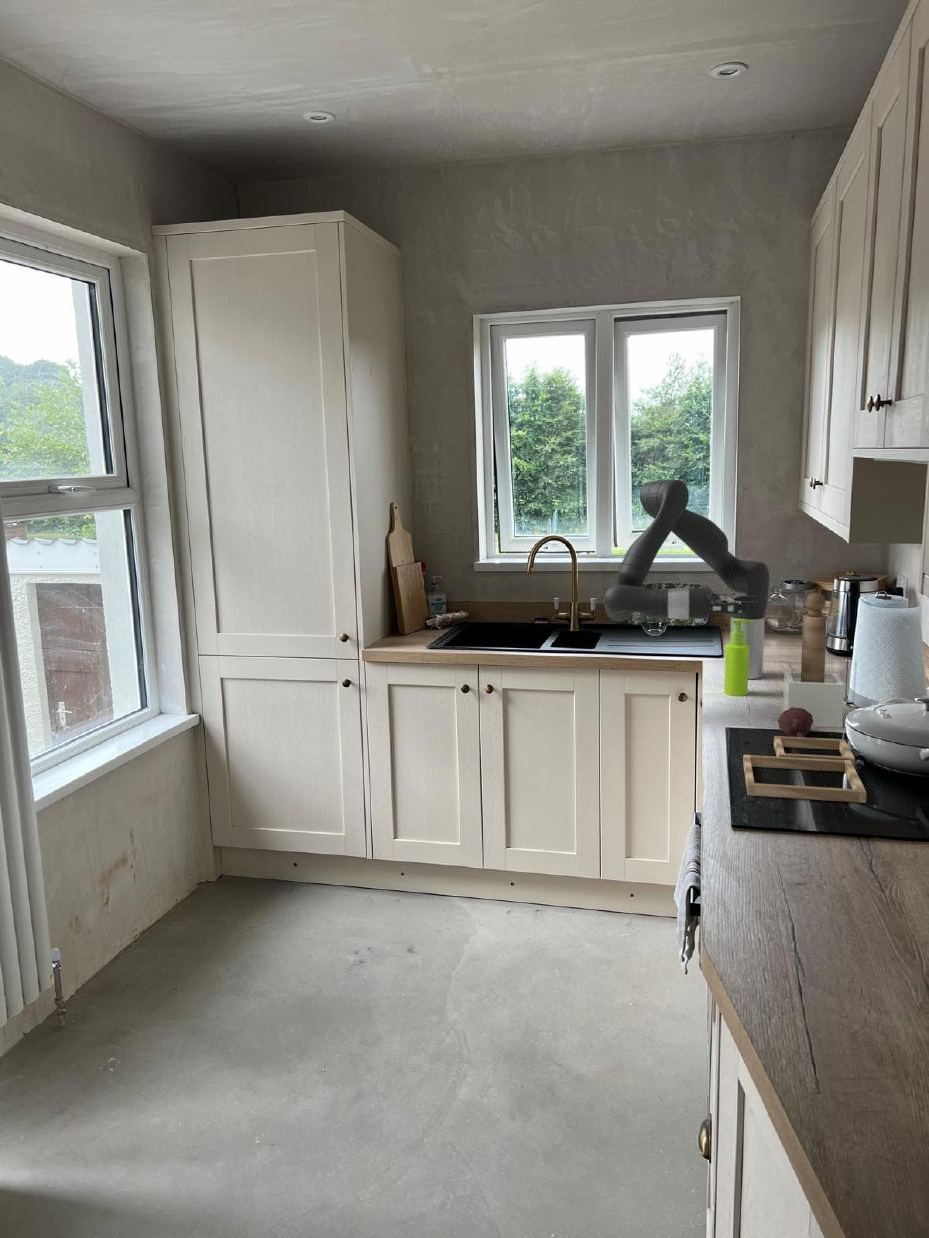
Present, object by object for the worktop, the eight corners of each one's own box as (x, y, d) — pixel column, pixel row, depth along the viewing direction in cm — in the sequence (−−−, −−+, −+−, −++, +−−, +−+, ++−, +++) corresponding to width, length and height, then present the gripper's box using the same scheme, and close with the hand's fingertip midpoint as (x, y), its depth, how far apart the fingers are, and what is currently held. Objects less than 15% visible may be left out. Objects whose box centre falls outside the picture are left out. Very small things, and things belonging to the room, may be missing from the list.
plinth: (782, 711, 225) (784, 671, 223) (834, 713, 222) (836, 673, 220) (787, 725, 213) (788, 682, 212) (842, 727, 210) (844, 684, 209)
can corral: (773, 744, 199) (774, 735, 199) (844, 748, 195) (844, 739, 195) (778, 764, 186) (779, 754, 186) (854, 768, 183) (855, 758, 182)
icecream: (772, 699, 212) (778, 723, 197) (805, 693, 209) (813, 716, 195) (779, 727, 213) (785, 752, 199) (812, 721, 211) (820, 746, 196)
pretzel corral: (743, 764, 187) (743, 754, 186) (850, 770, 182) (850, 760, 181) (747, 795, 169) (747, 784, 169) (865, 802, 164) (866, 792, 164)
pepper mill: (799, 679, 219) (802, 591, 216) (822, 680, 218) (826, 591, 214) (802, 684, 214) (805, 594, 211) (825, 685, 213) (829, 594, 209)
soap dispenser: (752, 696, 240) (754, 621, 237) (725, 695, 241) (727, 621, 238) (750, 691, 246) (752, 617, 242) (723, 690, 247) (725, 617, 244)
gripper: (687, 592, 215) (759, 592, 211) (687, 583, 228) (755, 583, 224) (687, 624, 216) (758, 624, 212) (687, 613, 230) (754, 613, 226)
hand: (756, 603), depth 218 cm, fingers open, 8 cm apart
